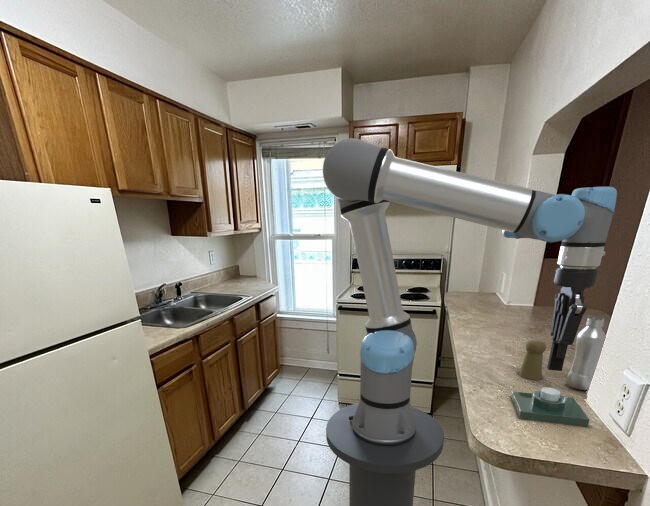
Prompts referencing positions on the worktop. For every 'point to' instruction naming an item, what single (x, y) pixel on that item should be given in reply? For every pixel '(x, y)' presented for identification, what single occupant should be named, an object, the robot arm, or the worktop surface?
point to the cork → (533, 360)
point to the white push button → (550, 394)
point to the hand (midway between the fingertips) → (554, 369)
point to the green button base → (549, 409)
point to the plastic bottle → (587, 353)
